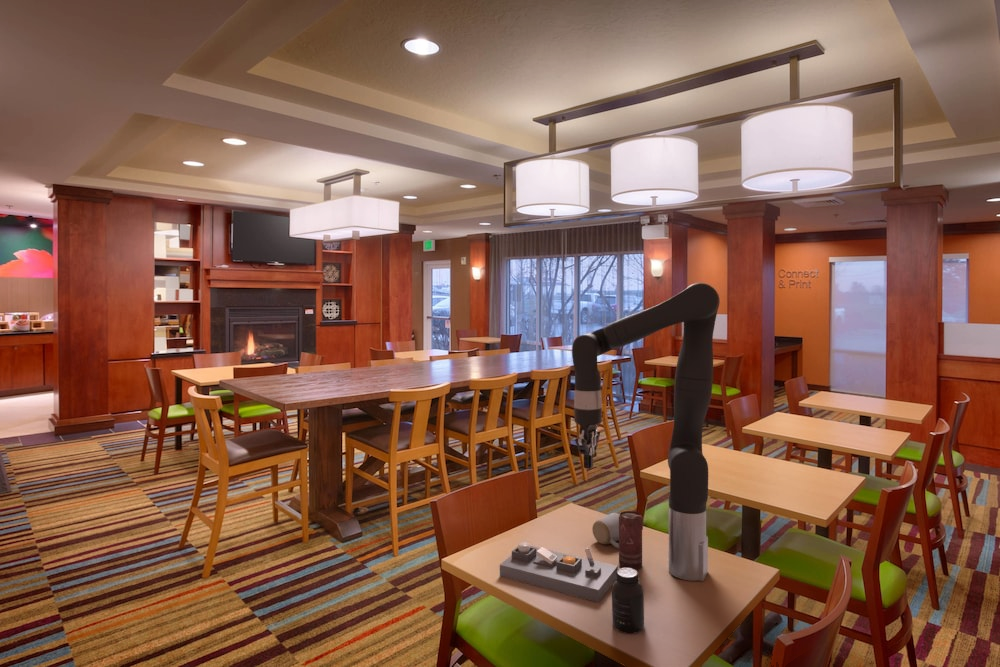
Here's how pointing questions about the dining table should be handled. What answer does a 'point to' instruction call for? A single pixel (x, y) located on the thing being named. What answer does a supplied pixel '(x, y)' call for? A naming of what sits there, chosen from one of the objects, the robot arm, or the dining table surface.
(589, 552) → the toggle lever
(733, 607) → the dining table surface
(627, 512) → the can
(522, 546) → the grey button
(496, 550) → the dining table surface
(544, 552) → the rocker switch
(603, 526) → the ceramic mug
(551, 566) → the control panel
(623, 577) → the supplement bottle
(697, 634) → the dining table surface
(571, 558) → the orange button
